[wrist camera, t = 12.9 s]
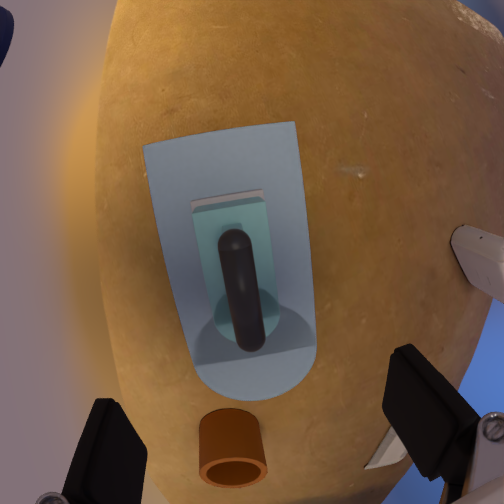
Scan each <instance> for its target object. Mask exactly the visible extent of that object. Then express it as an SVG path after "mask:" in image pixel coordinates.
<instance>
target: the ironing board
mask: <svg viewBox="0 0 504 504" xmlns="http://www.w3.org/2000/svg"><path fill="white" fill-rule="evenodd" d="M143 152H144V158H145V165H146V171H147V177H148V182H149V188H150V193H151V199H152V204H153V209H154V214H155V219H156V224H157V229H158V233H159V238H160V242H161V247H162V251H163V256H164V260H165V264H166V268H167V272H168V276H169V280H170V284H171V288H172V292H173V296H174V300H175V303H176V307H177V311H178V314H179V318H180V321H181V325H182V328H183V332H184V335H185V339H186V342H187V345H188V349H189V352H190V355H191V358H192V361H193V365H194V367H195V370H196V372H197V374H198V376H199V377H200V379H201V380H202V381H203V382H204V383H205V384H206V385H207V386H208V387H209V388H210V389H212V390H213V391H215V392H217V393H218V394H220V395H223V396H225V397H228V398H231V399H236V400H242V401H258V400H265V399H269V398H273V397H276V396H278V395H281V394H283V393H285V392H287V391H289V390H290V389H292V388H293V387H295V386H296V385H297V384H298V383H299V382H301V381H302V380H303V378H304V377H305V376H306V375H307V373H308V372H309V371H310V369H311V367H312V365H313V363H314V360H315V356H316V350H317V342H316V322H315V305H314V290H313V277H312V265H311V253H310V242H309V232H308V222H307V212H306V203H305V195H304V186H303V178H302V170H301V163H300V155H299V148H298V141H297V134H296V127H295V122H294V121H291V122H280V123H270V124H261V125H253V126H245V127H238V128H231V129H224V130H218V131H212V132H206V133H200V134H195V135H190V136H185V137H179V138H175V139H170V140H165V141H161V142H156V143H152V144H148V145H143ZM255 189H263V192H264V199H265V202H266V208H267V216H268V223H269V230H270V238H271V245H272V253H273V260H274V268H275V276H276V283H277V291H278V299H279V308H280V318H279V322H278V324H277V326H276V328H275V329H274V330H273V332H272V333H271V334H270V335H268V336H267V337H266V340H265V343H264V345H263V347H262V348H261V349H259V350H258V351H255V352H246V351H244V350H242V349H241V348H240V347H239V346H238V344H237V342H234V341H231V340H229V339H227V338H226V337H224V336H223V335H222V334H221V333H220V332H219V331H218V329H217V328H216V326H215V323H214V319H213V315H212V310H211V306H210V302H209V297H208V293H207V288H206V283H205V279H204V274H203V269H202V265H201V260H200V255H199V250H198V245H197V240H196V235H195V230H194V225H193V219H192V210H191V204H190V201H191V200H195V199H201V198H206V197H212V196H218V195H224V194H230V193H236V192H242V191H248V190H255Z"/></svg>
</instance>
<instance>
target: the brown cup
mask: <svg viewBox="0 0 504 504" xmlns="http://www.w3.org/2000/svg"><path fill="white" fill-rule="evenodd" d="M267 473H268V472H267V465H266V459H265V454H264V449H263V444H262V439H261V434H260V429H259V423H258V421H257V419H256V418H255V416H253V415H252V414H250V413H249V412H246V411H243V410H238V409H222V410H218V411H215V412H212V413H210V414H208V415H207V416H205V417H204V418H203V419H202V421H201V423H200V427H199V474H200V477H201V479H202V480H204V481H205V482H206V483H208V484H211V485H213V486H217V487H222V488H242V487H246V486H250V485H253V484H255V483H257V482H259V481H261V480H262V479H263V478H265V476H266V474H267Z"/></svg>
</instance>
